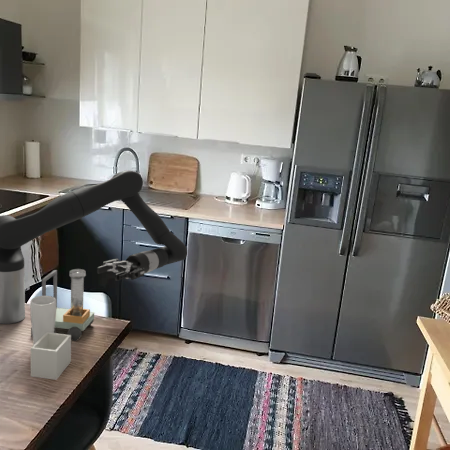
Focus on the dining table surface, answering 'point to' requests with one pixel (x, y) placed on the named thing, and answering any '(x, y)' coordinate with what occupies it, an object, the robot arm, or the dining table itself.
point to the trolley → (68, 313)
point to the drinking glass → (42, 316)
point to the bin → (50, 355)
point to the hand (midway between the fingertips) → (106, 274)
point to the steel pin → (77, 291)
